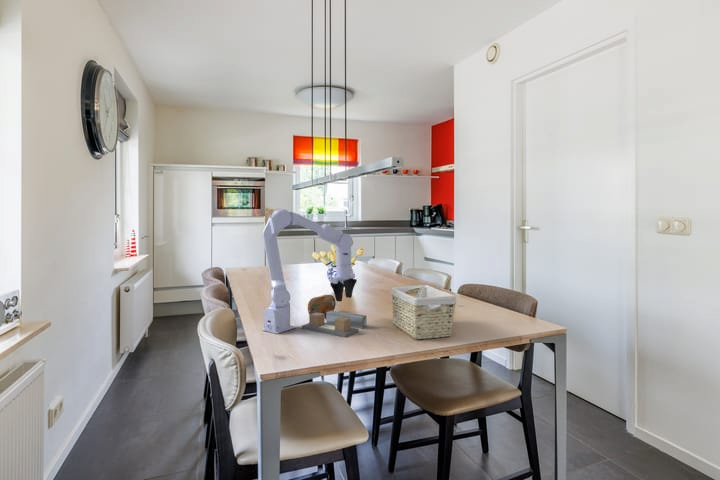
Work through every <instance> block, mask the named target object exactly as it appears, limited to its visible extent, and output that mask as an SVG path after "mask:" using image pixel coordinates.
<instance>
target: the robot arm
mask: <svg viewBox="0 0 720 480" xmlns="http://www.w3.org/2000/svg"><path fill="white" fill-rule="evenodd" d="M290 225H292V226H294V225H296V226H297V225H299V226H301V227H303V228H305V229H307V230H309V231H313V232H314V233H316V234H317V236H318V238H319V239H321V240H323V241H326V242H327V243H329V244H332V245H335V247H336V257H335V259H336V260H335V261H336V262H335V263H336V264H335V265H336V268H335V270H336V275H335V276H333V277H332V278H331V282H330V284H329V285H330V287H331V289H332V291H333V294H334V298H335V302H342V301H343V294H344V293H345V298H350V299H351V298H352V297H353V296H352V295H353V292H354V289H355V285H356V284H357V279H356V274H355V273H353V272H352V246H353V245H354V240H353V238H352V236H351V235H350V234H348V233H344V232H343V230H342V229H340V230H339V229H337V228H335V227H332V226H333V225H332V224H330V223H328V224H327V223H324V224H322V225H321V224H318V223H316V222H315V221H313V220H311V219H308V218H307V217H305V216H303V215H302V214H298V213H296V212H294V211H293V212H292V211H289V210H287V209H283V208H280V209H276V210H274V211H273V212H272V213H271V214H270V215H269V217H268V220H267V222H266V224H265V226H264V228H263V230H262V238H263V244H264V249H265V254H266V255H265V256H266V260H267V266H268V271H269V272H268V273H269V277H270V284H271V290H270V293H269V294H270V298H271V299H272V301H271V302H270V303H269V304H270V305H269V307H267V308H265V310H264V311H263V328H261V329H262V331H264V332H269V333H273V334H281V333H283V332H286V331H288V330H292V329H296V326H295V325H291V303H290V301H291V294H290V292H289V291H288V290H287V287H286V282H285V279H284V274H283V273H284V272H283V267H282V262H281V256H280V250H279V243H278V239H277V237H278V235H279V234H280V232H281V231H282V230H284V229H285V228H286V227H288V226H290ZM342 282H343V283H342Z"/></svg>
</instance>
